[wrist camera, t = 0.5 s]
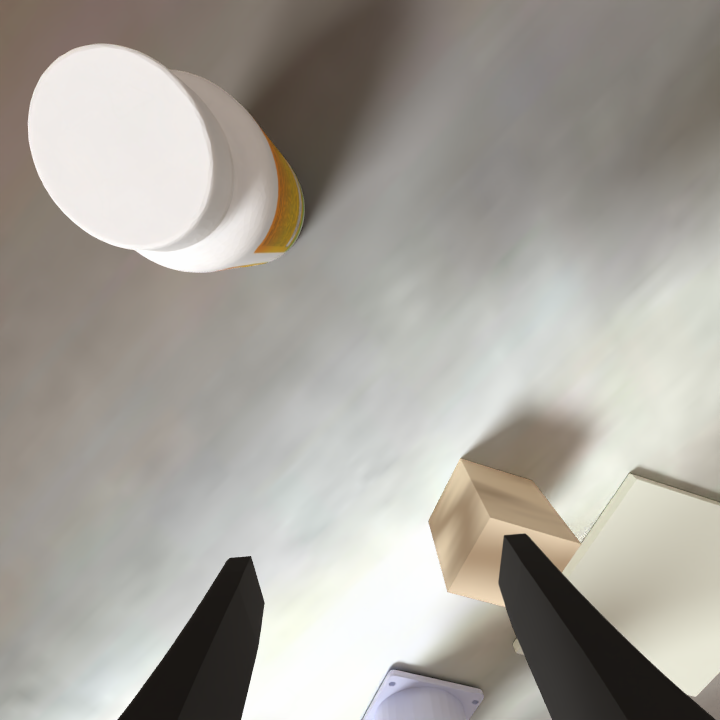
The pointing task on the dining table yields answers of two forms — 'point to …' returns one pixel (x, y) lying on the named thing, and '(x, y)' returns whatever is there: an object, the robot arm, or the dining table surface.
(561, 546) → the cube
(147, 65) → the supplement bottle
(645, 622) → the pad
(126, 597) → the dining table surface
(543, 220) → the dining table surface
